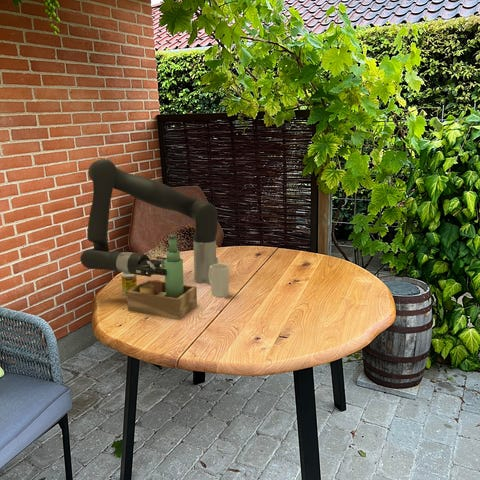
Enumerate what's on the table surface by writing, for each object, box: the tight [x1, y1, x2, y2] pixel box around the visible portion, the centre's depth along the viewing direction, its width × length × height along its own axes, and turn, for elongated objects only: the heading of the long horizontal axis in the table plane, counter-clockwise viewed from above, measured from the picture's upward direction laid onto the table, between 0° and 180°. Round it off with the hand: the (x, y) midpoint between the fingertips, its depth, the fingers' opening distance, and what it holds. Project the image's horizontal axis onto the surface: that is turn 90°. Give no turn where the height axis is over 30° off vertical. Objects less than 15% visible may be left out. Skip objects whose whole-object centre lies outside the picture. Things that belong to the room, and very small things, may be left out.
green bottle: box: [164, 233, 185, 298], centre depth 149 cm, size 6×6×27 cm
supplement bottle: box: [120, 272, 138, 296], centre depth 169 cm, size 6×6×10 cm
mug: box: [208, 263, 230, 299], centre depth 167 cm, size 10×7×12 cm, turn 42°
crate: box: [126, 279, 198, 321], centre depth 153 cm, size 13×20×9 cm, turn 68°
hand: (172, 268), depth 149 cm, fingers open, 8 cm apart
